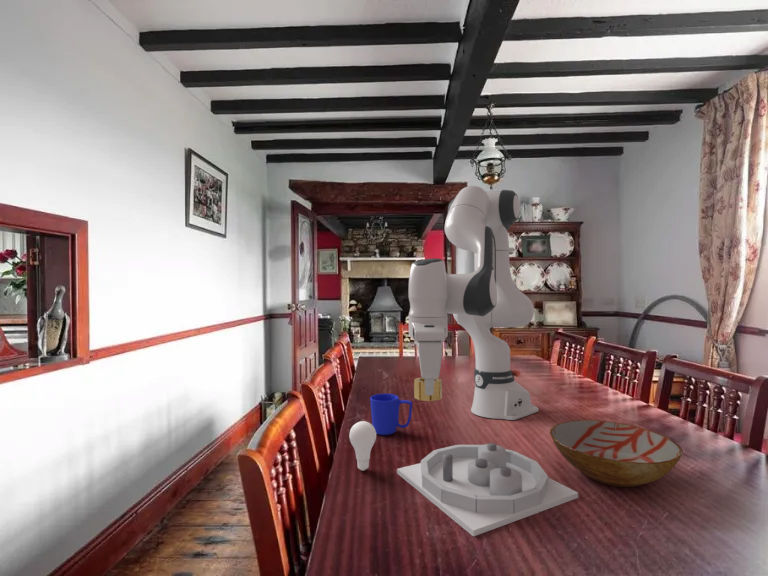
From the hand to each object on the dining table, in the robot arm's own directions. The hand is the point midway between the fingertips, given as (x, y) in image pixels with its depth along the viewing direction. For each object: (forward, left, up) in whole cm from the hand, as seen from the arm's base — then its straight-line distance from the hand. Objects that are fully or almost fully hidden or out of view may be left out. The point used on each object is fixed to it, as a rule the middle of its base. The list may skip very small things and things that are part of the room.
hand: (428, 390), depth 92 cm
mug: (-4, -25, -18) cm, 31 cm away
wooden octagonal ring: (0, 0, -2) cm, 2 cm away
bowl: (-34, +21, -18) cm, 44 cm away
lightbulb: (+13, -7, -18) cm, 24 cm away
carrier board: (-6, +11, -18) cm, 22 cm away
